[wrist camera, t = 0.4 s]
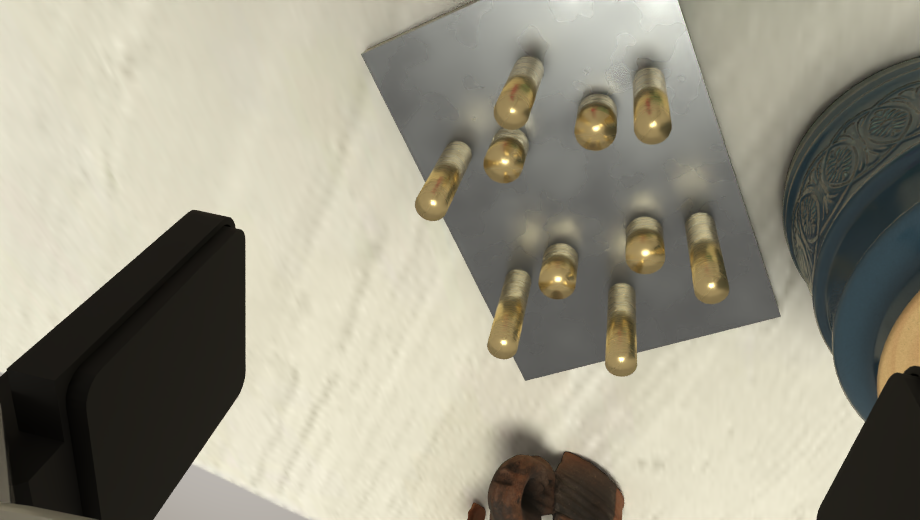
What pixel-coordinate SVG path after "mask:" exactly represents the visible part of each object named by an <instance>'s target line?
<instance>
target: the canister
mask: <svg viewBox="0 0 920 520" xmlns="http://www.w3.org/2000/svg"><path fill="white" fill-rule="evenodd" d="M782 214H783V227H784V234H785V238H786V242H787V245H788V248H789V251H790V253H791V256H792V259H793V261H794V264H795V266H796V268H797V270H798V271H799V273H800V275H801V276H802V278H803V279H804V281H805V282H806V283H807V285H808V288H809V291H810V293H811V296H812V299H813V308H814V314H815V318H816V322H817V325H818V328H819V331H820V334H821V336H822V338H823V340H824V342H825V344H826V345H827V347H828V349H829V350H830V352H831V353H832V355H833V360H834V365H835V370H836V374H837V377H838V380H839V383H840V385H841V387H842V389H843V392H844V394H845V396H846V397H847V399H848V401H849V402H850V404H851V406H852V407H853V408H854V410H855V411H856V412H857V414H858V415H859V416H860V417H861V418H862V419H863V420H864V421H866V419H867V418H868V416H869V414H870V412H871V410H872V408H873V406H874V404H875V403H876V401H877V399H878V397H879V395H880V393H881V391H882V389H883V388H884V386H885V384H886V382H887V380H888V379H889V377H890V376H891V375H892V374H894V373H897V372H898V373H904V371H905V370H907V369H908V368H909V367H911V366H920V57H918V58H914V59H911V60H908V61H904V62H902V63H899V64H896V65H894V66H891V67H889V68H887V69H884V70H882V71H880V72H878V73H876V74H874V75H872V76H870V77H868V78H867V79H865V80H863V81H862V82H860V83H858V84H857V85H855V86H854V87H852V88H851V89H850V90H848V91H847V92H845V93H844V94H843V95H842V96H841V97H839V98H838V99H837V100H836V101H835V102H833V103H832V104H831V105H830V106H829V107H828V108H827V109H826V110H825V111H824V112H823V113H822V114H821V115H820V116H819V118H818V119H817V120H816V121H815V122H814V124H813V125H812V126H811V128H810V129H809V130H808V132H807V133H806V135H805V136H804V138H803V139H802V141H801V143H800V144H799V146H798V148H797V150H796V152H795V154H794V157H793V159H792V162H791V164H790V167H789V171H788V174H787V178H786V183H785V190H784V199H783V212H782Z"/></svg>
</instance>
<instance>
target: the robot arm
mask: <svg viewBox="0 0 920 520" xmlns="http://www.w3.org/2000/svg"><path fill="white" fill-rule="evenodd" d="M245 371H246V365H245V235H244V232H243V231H242V230H240V229H236V228H235V224H234V221H233V220H232V219H231V218H230V217H226V216H221V215H217V214H212V213H207V212H203V211H198V210H192V211H190V212H188V213H187V214H186V215H185V216H183V217H182V218H181V219H180V220H179V221H178V222H177V223H175V224H174V225H173V226H172V227H171V228H170V229H168V230H167V231H166V232H165V233H164V234H163V235H161V236H160V237H159V238H158V239H157V240H156V241H155V242H153V243H152V244H151V245H150V246H149V247H148V248H146V249H145V250H144V251H143V252H142V253H141V254H139V255H138V256H137V257H136V258H135V259H134V260H132V261H131V262H130V263H129V264H128V265H127V266H126V267H124V268H123V269H122V270H121V271H120V272H119V273H117V274H116V275H115V276H114V277H113V278H112V279H110V280H109V281H108V282H107V283H106V284H105V285H103V286H102V287H101V288H100V289H99V290H98V291H97V292H95V293H94V294H93V295H92V296H91V297H90V298H88V299H87V300H86V301H85V302H84V303H83V304H81V305H80V306H79V307H78V308H77V309H76V310H75V311H73V312H72V313H71V314H70V315H69V316H68V317H66V318H65V319H64V320H63V321H62V322H61V323H59V324H58V325H57V326H56V327H55V328H54V329H52V330H51V331H50V332H49V333H48V334H47V335H46V336H44V337H43V338H42V339H41V340H40V341H39V342H37V343H36V344H35V345H34V346H33V347H32V348H30V349H29V350H28V351H27V352H26V353H25V354H24V355H22V356H21V357H20V358H19V359H18V360H17V361H15V362H14V363H13V364H12V365H11V366H10V367H8V368H7V371H6V372H5V373H4V374H3V375H2V376H1V377H0V520H153V519H154V518H155V516H156V515H157V513H158V512H159V511H160V509H161V508H162V506H163V504H164V503H165V502H166V500H167V499H168V497H169V496H170V495H171V493H172V492H173V490H174V489H175V487H176V486H177V484H178V483H179V481H180V480H181V479H182V477H183V476H184V474H185V473H186V471H187V470H188V468H189V467H190V465H191V464H192V463H193V461H194V460H195V458H196V457H197V455H198V454H199V452H200V451H201V449H202V448H203V447H204V445H205V444H206V442H207V441H208V439H209V438H210V436H211V435H212V433H213V432H214V431H215V429H216V428H217V426H218V425H219V423H220V422H221V420H222V419H223V418H224V416H225V415H226V413H227V412H228V410H229V409H230V407H231V406H232V404H233V403H234V402H235V400H236V399H237V397H238V395H239V394H240V392H241V389H242V387H243V383H244V379H245ZM817 520H920V366H911V367H909V368H908V369H907V370H905V371H904V373H898V372H897V373H894V374H892V375H891V376H890V377H889V379H888V380H887V382H886V384H885V386H884V388H883V389H882V391H881V393H880V395H879V397H878V399H877V401H876V403H875V404H874V406H873V408H872V410H871V412H870V414H869V416H868V418H867V419H866V421H865V423H864V425H863V427H862V429H861V431H860V433H859V434H858V436H857V438H856V440H855V442H854V444H853V446H852V447H851V449H850V451H849V453H848V455H847V457H846V459H845V461H844V462H843V464H842V466H841V468H840V470H839V472H838V474H837V476H836V477H835V479H834V481H833V483H832V485H831V487H830V489H829V491H828V492H827V494H826V496H825V498H824V500H823V502H822V504H821V505H820V508H819V510H818V514H817Z"/></svg>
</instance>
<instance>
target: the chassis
mask: <svg viewBox="0 0 920 520" xmlns="http://www.w3.org/2000/svg"><path fill="white" fill-rule="evenodd" d="M361 55H362V57H363V59H364V61H365V63H366V65H367V67H368V69H369V71H370V73H371V75H372V77H373V79H374V81H375V83H376V85H377V87H378V89H379V91H380V93H381V95H382V97H383V99H384V101H385V103H386V105H387V107H388V109H389V111H390V113H391V115H392V117H393V119H394V121H395V123H396V125H397V127H398V129H399V131H400V133H401V135H402V136H403V138H404V140H405V142H406V144H407V146H408V148H409V150H410V152H411V154H412V156H413V158H414V160H415V162H416V164H417V166H418V168H419V170H420V172H421V174H422V176H423V178H424V180H425V182H426V183H425V184H424V186H423V188H422V190H421V191H420V193H419V195H418V197H417V198H416V201H415V208H416V211H417V212H418V214H419V215H420V216H421V217H422V218H424V219H426V220H429V221H437V220H440V219H441V218H444V220H445V222H446V224H447V226H448V228H449V230H450V232H451V234H452V236H453V238H454V240H455V242H456V244H457V246H458V248H459V250H460V252H461V254H462V256H463V258H464V260H465V262H466V264H467V266H468V268H469V270H470V272H471V274H472V276H473V278H474V280H475V282H476V284H477V286H478V288H479V290H480V292H481V294H482V296H483V298H484V300H485V302H486V304H487V306H488V308H489V310H490V312H491V314H492V316H493V318H494V321H493V325H492V329H491V332H490V336H489V340H488V344H487V347H488V350H489V352H490V353H491V354H492V355H493V356H494V357H496V358H499V359H509V358H511V357H514V359H515V361H516V363H517V365H518V367H519V369H520V371H521V373H522V375H523V377H524V379H525V381H526V380H530V379H534V378H538V377H542V376H546V375H550V374H554V373H558V372H562V371H566V370H570V369H574V368H578V367H582V366H586V365H590V364H594V363H598V362H602V361H605V366H606V368H607V370H608V371H609V372H610V373H611V374H613V375H616V376H628V375H630V374H632V373H633V372H634V371H635V370H636V367H637V353H638V352H642V351H646V350H650V349H654V348H658V347H662V346H665V345H669V344H673V343H677V342H681V341H685V340H689V339H693V338H697V337H701V336H705V335H709V334H713V333H717V332H721V331H725V330H729V329H733V328H737V327H741V326H745V325H749V324H753V323H757V322H761V321H765V320H769V319H773V318H777V317H781V316H780V312H779V309H778V306H777V303H776V300H775V297H774V294H773V291H772V288H771V284H770V281H769V278H768V275H767V272H766V269H765V266H764V263H763V260H762V257H761V254H760V251H759V248H758V245H757V242H756V238H755V235H754V232H753V229H752V226H751V223H750V220H749V217H748V214H747V211H746V208H745V205H744V202H743V199H742V196H741V192H740V189H739V186H738V183H737V180H736V177H735V174H734V171H733V168H732V165H731V162H730V159H729V156H728V153H727V150H726V147H725V143H724V140H723V137H722V134H721V131H720V128H719V125H718V122H717V119H716V116H715V113H714V110H713V107H712V104H711V101H710V97H709V94H708V91H707V88H706V85H705V82H704V79H703V76H702V73H701V70H700V67H699V64H698V61H697V58H696V55H695V51H694V48H693V45H692V42H691V39H690V36H689V33H688V30H687V27H686V24H685V21H684V18H683V15H682V12H681V9H680V6H679V2H678V0H474V1H472V2H470V3H468V4H465V5H463V6H461V7H459V8H457V9H454V10H452V11H450V12H448V13H446V14H443V15H441V16H439V17H437V18H435V19H432V20H430V21H428V22H426V23H424V24H422V25H419V26H417V27H415V28H413V29H411V30H408V31H406V32H404V33H402V34H400V35H397V36H395V37H393V38H391V39H389V40H386V41H384V42H382V43H380V44H378V45H375V46H373V47H371V48H369V49H367V50H366V51H365V52H363V53H362V54H361Z"/></svg>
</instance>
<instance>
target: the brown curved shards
mask: <svg viewBox="0 0 920 520" xmlns="http://www.w3.org/2000/svg"><path fill="white" fill-rule="evenodd" d="M488 505H489V509H490V520H541V516H543V515H549V514H552V515H553V520H622V510H623V507H624V498H623V496H622V493H621V492H620V491H619V489H618V488H617V487H616V485H615V484H614V483H613V482H612V481H611V480H610V479H609V478H608V476H607V475H606V474H605V473H603V472H601V471H600V470H599V469H598V468H597V467H596V466H594V465H592V464H591V463H590V462H588V461H586V460H584V459H582V458H580V457H578V456H576V455H574V454H572V453H569V452H565V453H564V455H563V457H562V460H561V463H560V464H559V465H558V467H557V470H556V471H555V472H554V471H553V469H552V467H551V465H550V464H549V463H548V462H547V461H546V460H545V459H543V458H542V457H540V456H529V455H516V456H514V457H512V458H510V459H508V460H507V461H505V462H504V463H503V464H502V465H501V466H500V467H499V468H498V470H497V471H496V473H495V475H494V477H493V479H492V481H491V484H490V487H489V491H488ZM485 515H486V512H485V509H484V508H483V507H481V506H480V505H478V504H476V503H473V505H472V508H471V509H470V510H469V512H468V519H467V520H485Z"/></svg>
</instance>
